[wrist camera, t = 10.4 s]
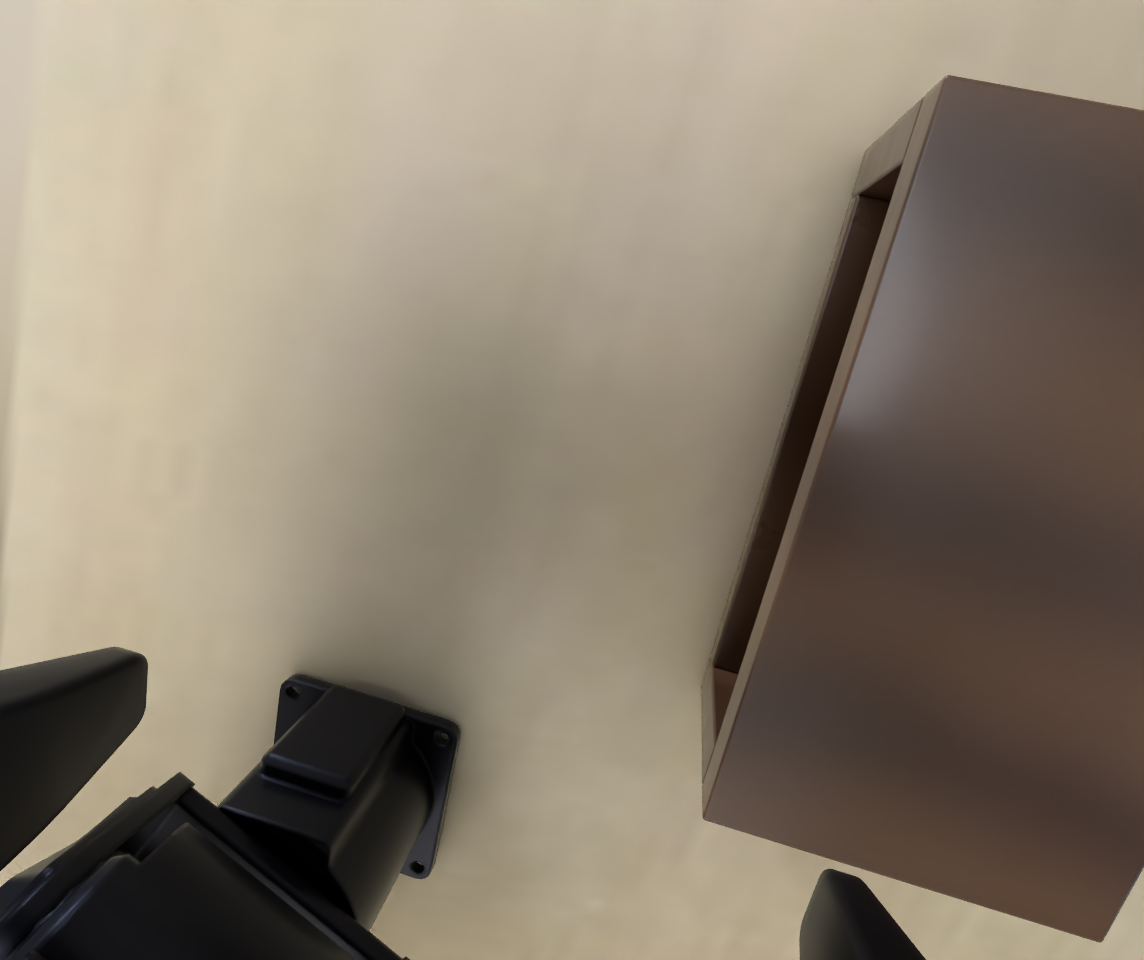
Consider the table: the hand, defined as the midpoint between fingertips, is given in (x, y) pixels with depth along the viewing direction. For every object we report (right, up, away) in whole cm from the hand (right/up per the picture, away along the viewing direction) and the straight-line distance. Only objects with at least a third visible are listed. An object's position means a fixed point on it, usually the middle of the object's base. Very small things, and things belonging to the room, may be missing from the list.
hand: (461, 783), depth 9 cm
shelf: (+12, +4, +11) cm, 16 cm away
